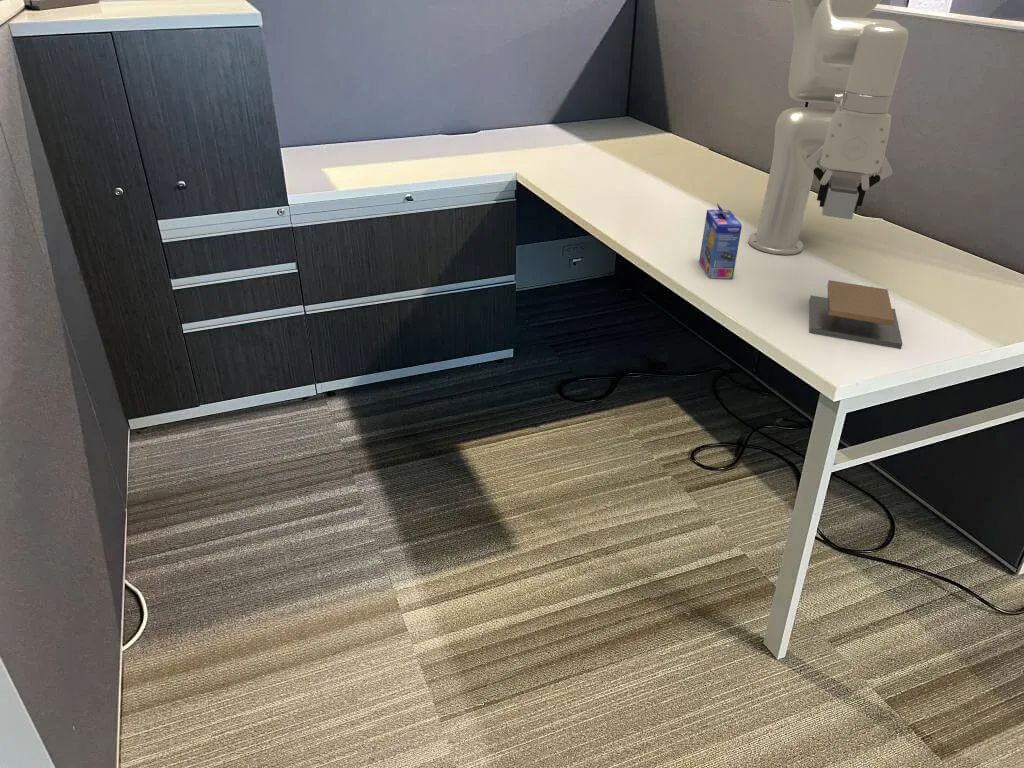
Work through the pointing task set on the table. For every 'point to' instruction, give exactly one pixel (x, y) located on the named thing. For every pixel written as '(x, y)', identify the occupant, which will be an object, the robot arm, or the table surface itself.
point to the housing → (841, 198)
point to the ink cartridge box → (720, 243)
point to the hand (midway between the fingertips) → (837, 206)
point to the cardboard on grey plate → (855, 314)
